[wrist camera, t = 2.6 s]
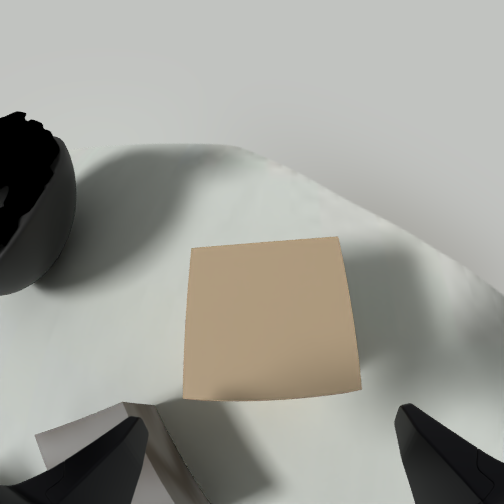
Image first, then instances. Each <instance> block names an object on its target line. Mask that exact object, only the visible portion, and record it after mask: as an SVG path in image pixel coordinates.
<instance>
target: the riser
mask: <svg viewBox="0 0 504 504" xmlns="http://www.w3.org/2000/svg"><path fill="white" fill-rule="evenodd" d="M129 416H138V417H141V418H142V419H143V421H144V423H145V425H146V427H147V429H148V432H149V437H148V442H147V447H146V452H145V457H144V462H143V467H142V471H141V474H140V477H139V480H138V483H137V486H136V489H135V493H134V496H133V499H132V502H131V504H210V503H209V501H208V500H207V498H206V497H205V495H204V494H203V492H202V491H201V489H200V488H199V486H198V485H197V483H196V481H195V480H194V478H193V477H192V475H191V473H190V472H189V470H188V468H187V467H186V465H185V463H184V461H183V460H182V458H181V456H180V454H179V453H178V451H177V449H176V447H175V445H174V443H173V442H172V440H171V438H170V436H169V434H168V432H167V430H166V428H165V426H164V424H163V422H162V420H161V418H160V416H159V414H158V412H157V410H156V407H155V405H146V404H136V403H127V402H121V403H119V404H116V405H114V406H112V407H109V408H107V409H104V410H102V411H99V412H97V413H94V414H92V415H89V416H87V417H84V418H82V419H79V420H76V421H74V422H71V423H68V424H65V425H63V426H60V427H57V428H54V429H51V430H48V431H45V432H42V433H39V434H36V435H35V438H36V441H37V444H38V446H39V449H40V452H41V455H42V457H43V460H44V463H45V465H46V468H47V470H49V469H51V468H53V467H54V466H56V465H58V464H59V463H61V462H63V461H65V460H66V459H67V458H69V457H70V456H72V455H74V454H75V453H77V452H78V451H80V450H81V449H83V448H84V447H86V446H87V445H89V444H90V443H92V442H93V441H95V440H96V439H98V438H99V437H100V436H102V435H103V434H105V433H106V432H108V431H109V430H111V429H112V428H113V427H115V426H116V425H118V424H119V423H120V422H122V421H123V420H125V419H126V418H127V417H129Z"/></svg>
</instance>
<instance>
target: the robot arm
mask: <svg viewBox="0 0 504 504" xmlns="http://www.w3.org/2000/svg"><path fill="white" fill-rule="evenodd" d="M394 424H395V430H396V434H397V439H398V444H399V449H400V454H401V459H402V462H403V466H404V469H405V472H406V475H407V478H408V481H409V484H410V487H411V491H412V494H413V497H414V501H415V504H504V463H503V462H501V461H499V460H497V459H495V458H493V457H491V456H490V455H488V454H486V453H485V452H483V451H482V450H480V449H477V447H475V446H474V445H472V444H471V443H469V442H468V441H466V440H465V439H463V438H462V437H460V436H459V435H457V434H456V433H454V432H453V431H451V430H450V429H448V428H447V427H445V426H444V425H442V424H441V423H439V422H438V421H436V420H435V419H433V418H432V417H430V416H429V415H427V414H426V413H425V412H423V411H422V410H420V409H419V408H417V407H416V406H414V405H413V404H411V403H408V404H404V405H401V406H400V407H399V409H398V412H397V415H396V418H395V423H394ZM148 437H149V432H148V429H147V427H146V425H145V423H144V421H143V419H142V418H141V417H138V416H129V417H127V418H126V419H125V420H123V421H122V422H120V423H119V424H118V425H116V426H115V427H113V428H112V429H111V430H109V431H108V432H106V433H105V434H103V435H102V436H100V437H99V438H98V439H96V440H95V441H93V442H92V443H90V444H89V445H87V446H86V447H84V448H83V449H81V450H80V451H78V452H77V453H75V454H74V455H72V456H70V457H69V458H67V459H66V460H65V461H63V462H61V463H59V464H58V465H56V466H54V467H53V468H51V469H49V470H48V471H46V472H44V473H42V474H40V475H37V476H35V477H33V478H31V479H28V480H26V481H24V482H22V483H19V484H16V485H12V486H3V485H0V504H131V502H132V499H133V496H134V493H135V489H136V486H137V483H138V480H139V477H140V474H141V471H142V467H143V462H144V457H145V452H146V447H147V442H148Z"/></svg>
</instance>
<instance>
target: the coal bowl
mask: <svg viewBox="0 0 504 504" xmlns="http://www.w3.org/2000/svg"><path fill="white" fill-rule="evenodd" d="M25 116H26V113H23V112H14V113H12V114H9V115H7V116H5V117H2V118H0V296H2V295H8V294H12V293H15V292H17V291H20V290H22V289H24V288H26V287H28V286H30V285H31V284H33V283H34V282H35V281H37V280H38V279H39V278H40V277H41V276H43V275H44V274H45V273H46V272H47V270H48V269H49V268H50V267H51V266H52V264H53V263H54V262H55V260H56V259H57V257H58V256H59V254H60V253H61V251H62V249H63V247H64V245H65V243H66V241H67V238H68V236H69V233H70V230H71V227H72V223H73V219H74V213H75V207H76V181H75V173H74V168H73V164H72V161H71V157H70V155H69V152H68V150H67V148H66V146H65V144H64V142H63V141H62V140H61V139H60V138H58V137H54V136H53V135H52V134H51V132H50V131H48V130H45V129H44V128H43V125H42V123H40V122H38V121H35V120H29V121H26V120H25Z"/></svg>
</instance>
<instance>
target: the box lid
mask: <svg viewBox="0 0 504 504" xmlns="http://www.w3.org/2000/svg"><path fill="white" fill-rule="evenodd" d="M361 389H362V387H361V376H360V366H359V358H358V349H357V341H356V334H355V327H354V320H353V313H352V307H351V301H350V295H349V289H348V284H347V278H346V273H345V268H344V262H343V257H342V253H341V248H340V243H339V238H338V237H325V238H312V239H299V240H286V241H273V242H261V243H248V244H236V245H224V246H212V247H200V248H191V258H190V269H189V281H188V294H187V308H186V324H185V343H184V369H183V399H191V400H201V401H268V400H285V399H299V398H309V397H319V396H327V395H335V394H342V393H348V392H353V391H357V390H361Z"/></svg>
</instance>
